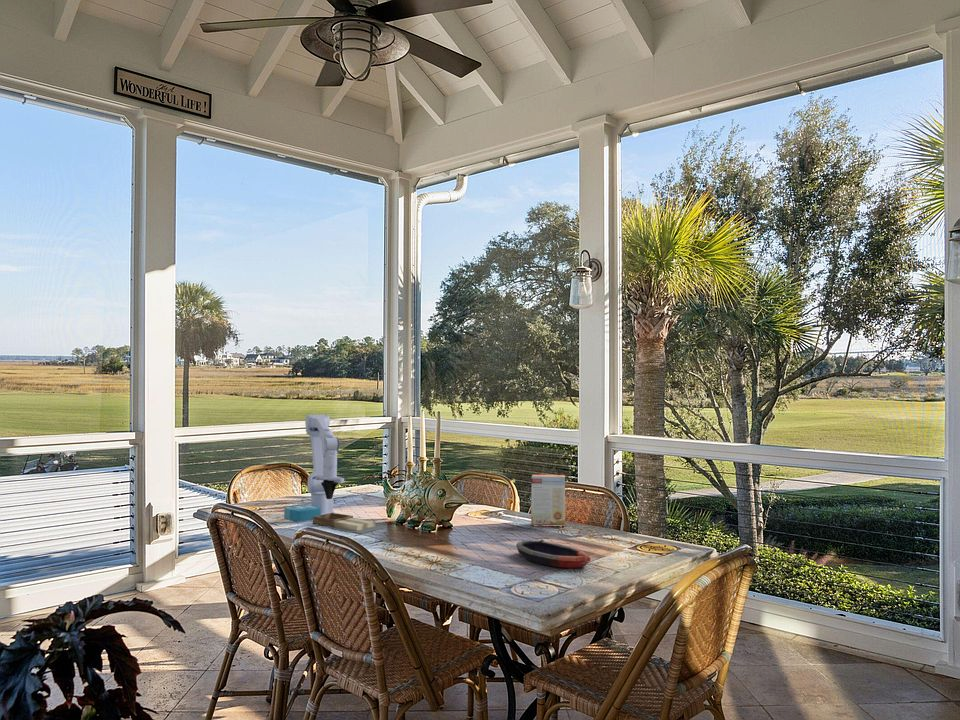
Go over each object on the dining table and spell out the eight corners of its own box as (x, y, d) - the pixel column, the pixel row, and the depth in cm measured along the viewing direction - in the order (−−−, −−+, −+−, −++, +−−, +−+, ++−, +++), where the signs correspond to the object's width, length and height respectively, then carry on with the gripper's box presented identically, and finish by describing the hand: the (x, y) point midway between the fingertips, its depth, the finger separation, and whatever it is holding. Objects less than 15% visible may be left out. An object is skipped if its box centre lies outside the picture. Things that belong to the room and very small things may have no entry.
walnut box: (331, 519, 312) (331, 512, 312) (352, 523, 305) (353, 515, 305) (312, 524, 302) (312, 516, 302) (334, 527, 296) (334, 520, 296)
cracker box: (564, 524, 309) (565, 474, 310) (564, 527, 303) (565, 476, 304) (531, 523, 311) (531, 473, 311) (530, 526, 305) (531, 475, 305)
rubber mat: (357, 522, 307) (357, 521, 307) (387, 527, 298) (387, 526, 298) (330, 528, 293) (330, 528, 293) (361, 534, 285) (361, 533, 285)
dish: (536, 549, 265) (536, 535, 265) (602, 568, 241) (602, 552, 241) (504, 556, 255) (504, 541, 255) (569, 575, 231) (569, 559, 231)
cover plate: (353, 522, 305) (353, 517, 305) (375, 526, 299) (375, 521, 299) (334, 526, 296) (334, 521, 296) (357, 530, 289) (357, 525, 289)
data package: (282, 507, 314) (307, 504, 322) (282, 518, 314) (307, 514, 322) (297, 511, 305) (322, 508, 314) (297, 522, 305) (322, 518, 314)
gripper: (310, 465, 310) (309, 498, 310) (336, 468, 302) (335, 501, 302) (322, 464, 316) (321, 495, 315) (348, 466, 308) (347, 499, 308)
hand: (329, 498), depth 309 cm, fingers closed
